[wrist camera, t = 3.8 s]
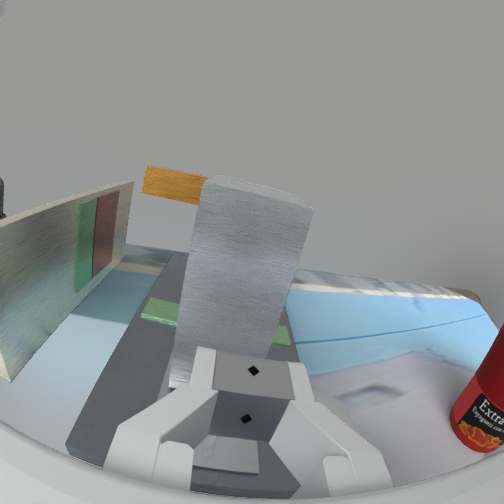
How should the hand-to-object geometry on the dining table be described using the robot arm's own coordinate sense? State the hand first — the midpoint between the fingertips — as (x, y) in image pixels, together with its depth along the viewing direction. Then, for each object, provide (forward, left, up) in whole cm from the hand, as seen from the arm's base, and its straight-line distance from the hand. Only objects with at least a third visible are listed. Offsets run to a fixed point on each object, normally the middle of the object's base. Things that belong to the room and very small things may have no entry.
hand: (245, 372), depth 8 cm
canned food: (+19, +16, -10) cm, 27 cm away
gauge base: (-11, +11, -10) cm, 19 cm away
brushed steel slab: (-6, +7, -8) cm, 12 cm away
